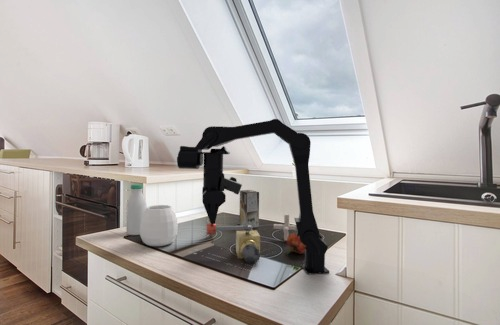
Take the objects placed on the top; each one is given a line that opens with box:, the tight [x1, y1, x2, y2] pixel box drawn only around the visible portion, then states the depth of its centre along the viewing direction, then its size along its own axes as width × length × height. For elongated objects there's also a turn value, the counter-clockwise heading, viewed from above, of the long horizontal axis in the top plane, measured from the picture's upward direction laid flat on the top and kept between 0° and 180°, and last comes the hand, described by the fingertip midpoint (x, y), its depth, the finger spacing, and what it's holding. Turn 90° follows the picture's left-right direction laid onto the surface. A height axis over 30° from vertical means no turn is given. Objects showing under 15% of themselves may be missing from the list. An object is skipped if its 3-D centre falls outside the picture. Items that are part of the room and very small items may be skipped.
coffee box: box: [239, 189, 260, 229], centre depth 136 cm, size 9×6×16 cm
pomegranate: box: [286, 232, 306, 256], centre depth 99 cm, size 7×7×10 cm
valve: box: [235, 230, 261, 265], centre depth 97 cm, size 17×7×8 cm, turn 9°
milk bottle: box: [125, 183, 148, 236], centre depth 120 cm, size 8×8×20 cm
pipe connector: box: [273, 213, 296, 242], centre depth 114 cm, size 10×10×10 cm
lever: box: [206, 222, 254, 236], centre depth 96 cm, size 15×3×3 cm, turn 99°
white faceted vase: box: [139, 204, 179, 247], centre depth 107 cm, size 13×13×14 cm
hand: (212, 221), depth 88 cm, fingers open, 6 cm apart
